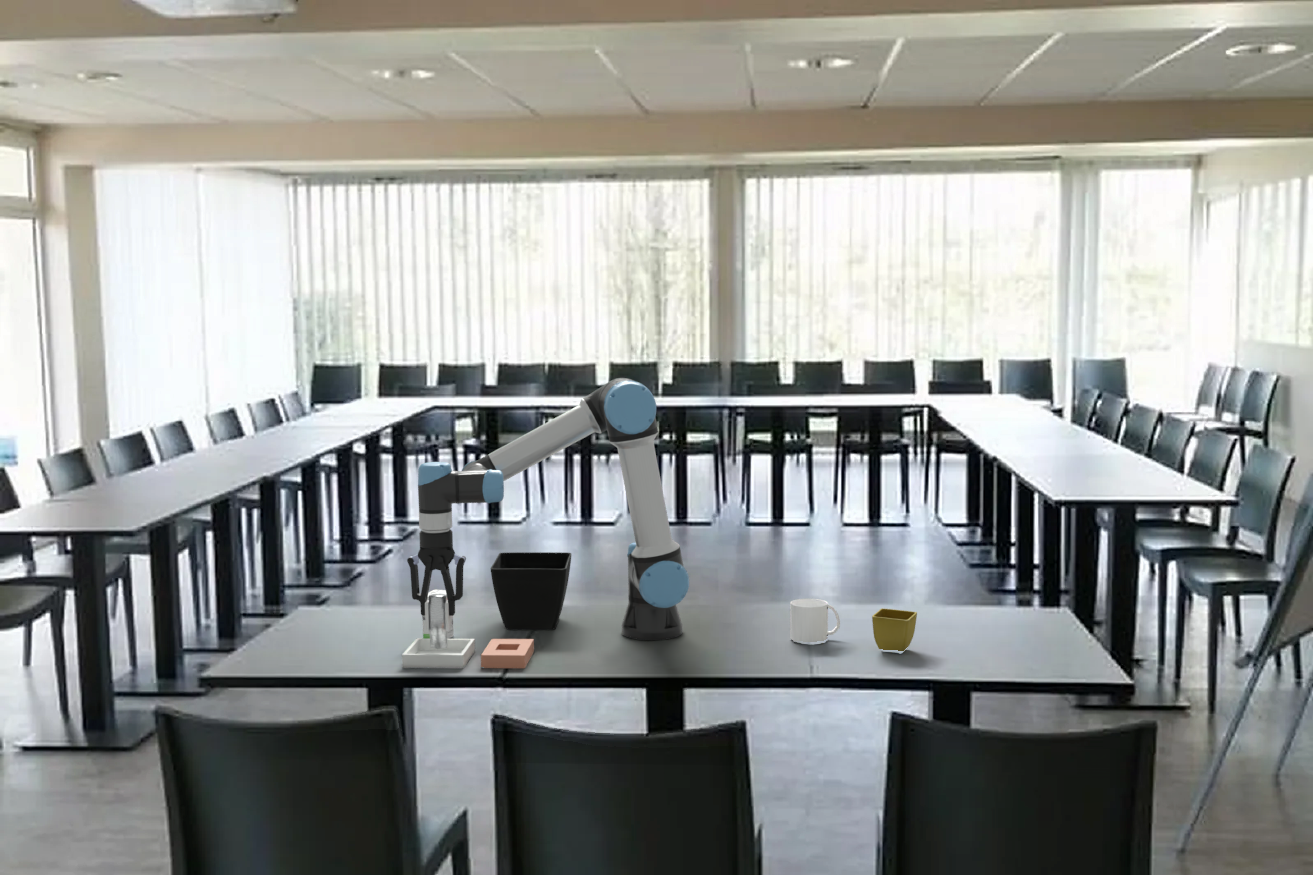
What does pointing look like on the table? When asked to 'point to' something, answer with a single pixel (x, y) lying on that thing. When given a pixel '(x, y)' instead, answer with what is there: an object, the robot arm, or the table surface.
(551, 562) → the flower pot
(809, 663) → the table surface
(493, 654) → the hitch plate
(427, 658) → the tray
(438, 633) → the pin
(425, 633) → the ink box
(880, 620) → the flower pot
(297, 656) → the table surface
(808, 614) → the mug
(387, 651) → the table surface
